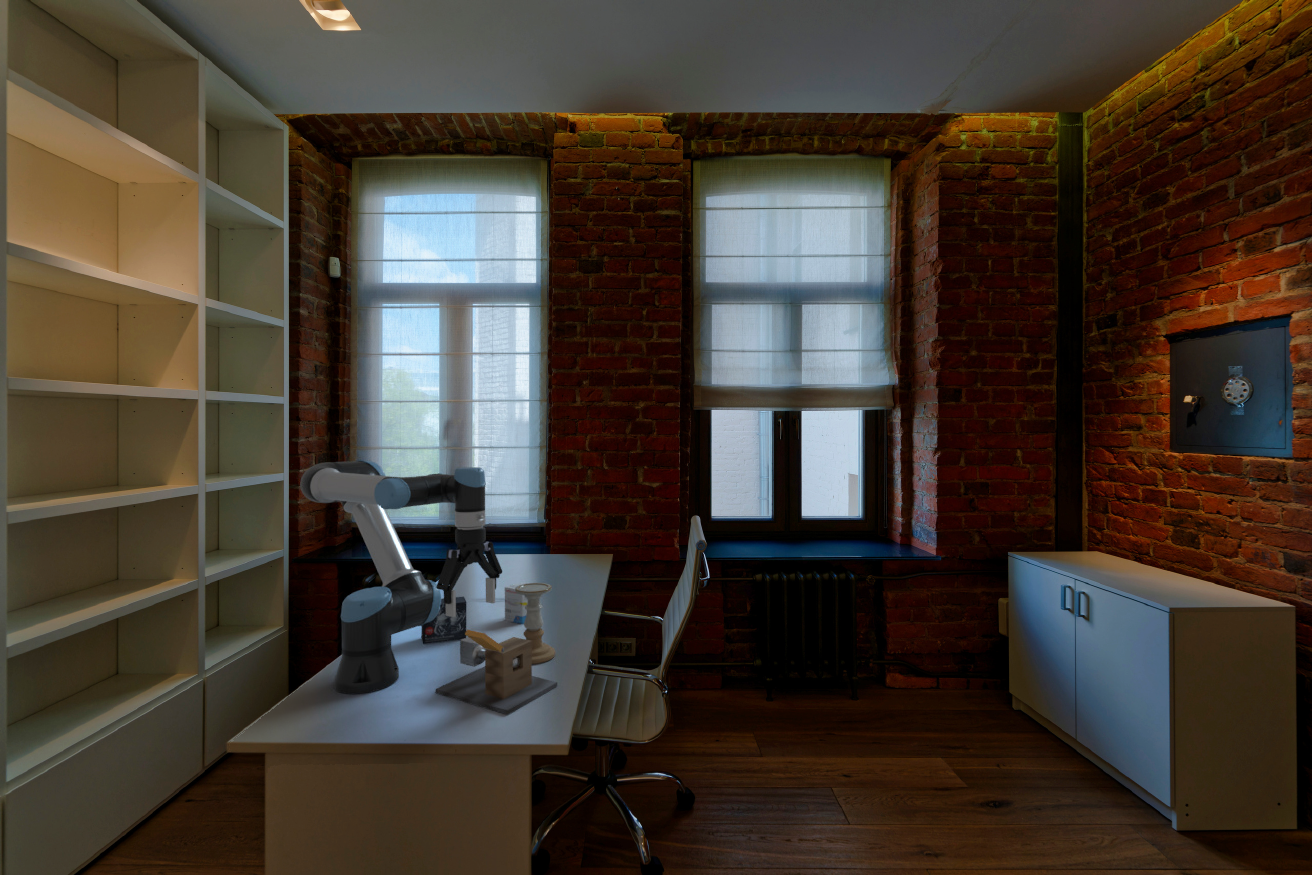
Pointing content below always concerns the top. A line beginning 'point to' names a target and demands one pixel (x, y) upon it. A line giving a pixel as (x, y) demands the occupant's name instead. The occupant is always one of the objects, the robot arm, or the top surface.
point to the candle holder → (535, 620)
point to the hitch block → (501, 680)
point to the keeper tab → (484, 640)
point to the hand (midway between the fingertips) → (471, 609)
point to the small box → (446, 624)
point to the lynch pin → (475, 653)
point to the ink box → (515, 605)
